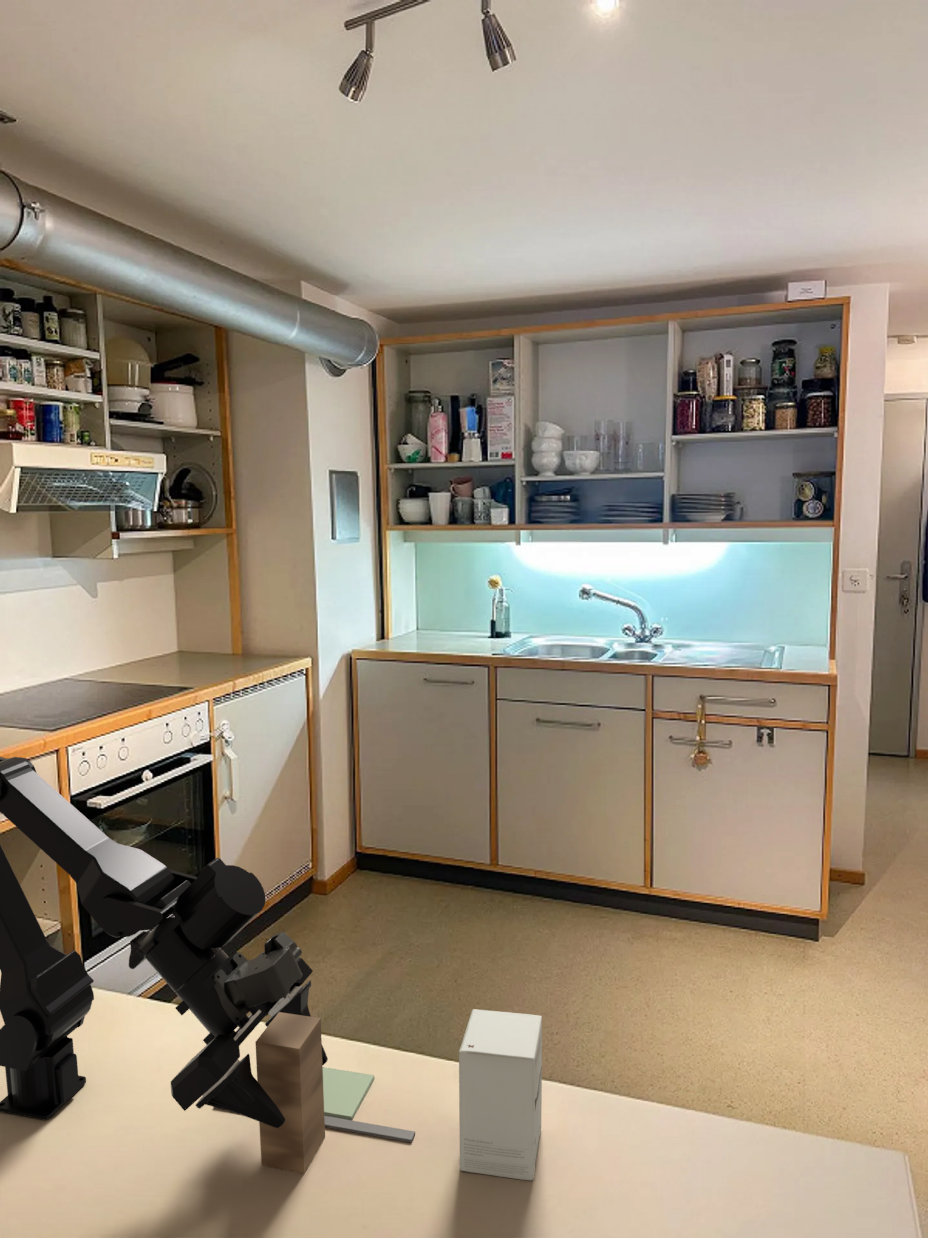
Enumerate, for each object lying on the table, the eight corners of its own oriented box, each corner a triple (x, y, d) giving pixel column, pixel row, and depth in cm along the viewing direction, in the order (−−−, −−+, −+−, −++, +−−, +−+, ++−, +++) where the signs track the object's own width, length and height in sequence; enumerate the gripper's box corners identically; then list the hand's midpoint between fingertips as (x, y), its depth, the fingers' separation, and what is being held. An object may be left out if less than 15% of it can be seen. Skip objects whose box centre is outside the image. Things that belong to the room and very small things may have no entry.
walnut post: (261, 1165, 86) (255, 1042, 84) (284, 1130, 91) (279, 1012, 89) (304, 1174, 85) (299, 1049, 83) (325, 1137, 90) (320, 1018, 88)
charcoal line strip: (213, 1107, 94) (213, 1105, 94) (219, 1100, 95) (219, 1097, 95) (411, 1142, 89) (411, 1140, 89) (415, 1134, 90) (415, 1131, 90)
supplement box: (534, 1183, 83) (534, 1060, 82) (457, 1172, 85) (456, 1050, 83) (543, 1129, 91) (543, 1014, 89) (472, 1119, 92) (471, 1006, 90)
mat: (263, 1105, 94) (263, 1101, 94) (291, 1065, 101) (291, 1062, 101) (351, 1120, 92) (351, 1116, 92) (374, 1078, 99) (374, 1075, 98)
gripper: (192, 974, 77) (313, 1114, 75) (292, 883, 94) (392, 995, 93) (121, 1043, 80) (235, 1179, 79) (230, 943, 98) (325, 1052, 96)
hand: (304, 1092), depth 87 cm, fingers open, 9 cm apart
